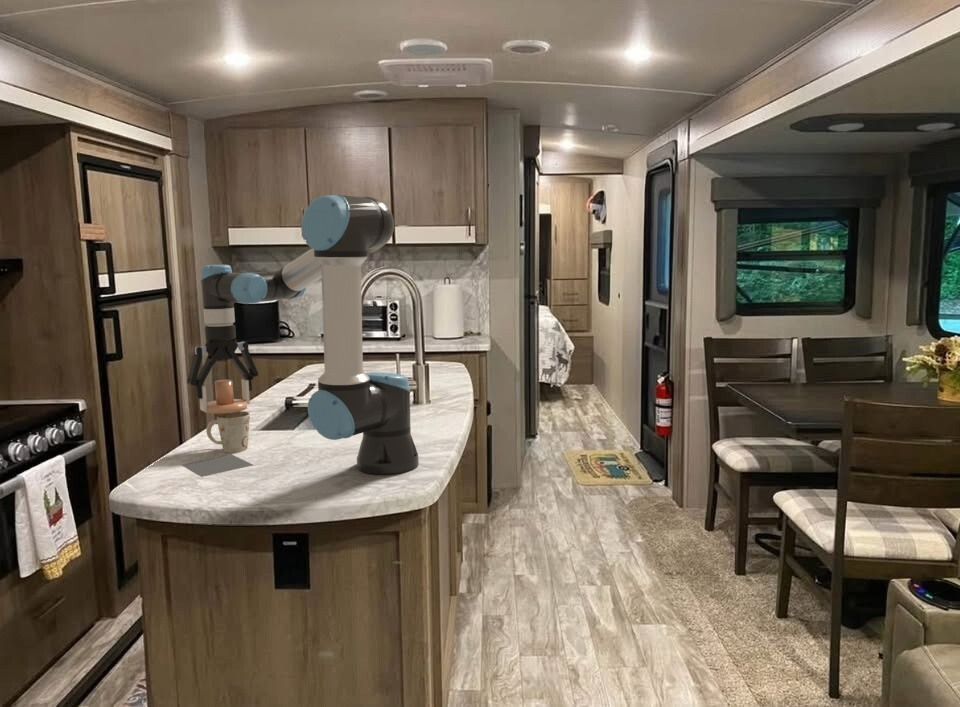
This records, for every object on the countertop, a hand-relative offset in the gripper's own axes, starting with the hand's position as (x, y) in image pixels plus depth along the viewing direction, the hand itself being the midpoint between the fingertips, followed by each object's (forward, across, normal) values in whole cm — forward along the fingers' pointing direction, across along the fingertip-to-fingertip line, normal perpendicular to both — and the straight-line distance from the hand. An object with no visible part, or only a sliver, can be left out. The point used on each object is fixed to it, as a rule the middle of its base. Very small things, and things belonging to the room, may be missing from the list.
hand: (225, 407), depth 197 cm
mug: (+12, 0, 0) cm, 12 cm away
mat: (+12, +8, +12) cm, 19 cm away
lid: (0, 0, 0) cm, 0 cm away
